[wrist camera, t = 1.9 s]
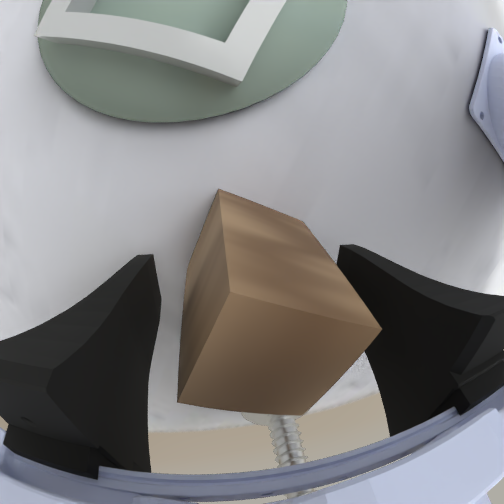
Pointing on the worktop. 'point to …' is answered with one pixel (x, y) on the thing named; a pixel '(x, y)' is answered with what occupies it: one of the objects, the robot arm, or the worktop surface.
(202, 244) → the brown tall block
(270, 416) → the screw
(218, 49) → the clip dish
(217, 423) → the worktop surface
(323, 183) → the worktop surface
